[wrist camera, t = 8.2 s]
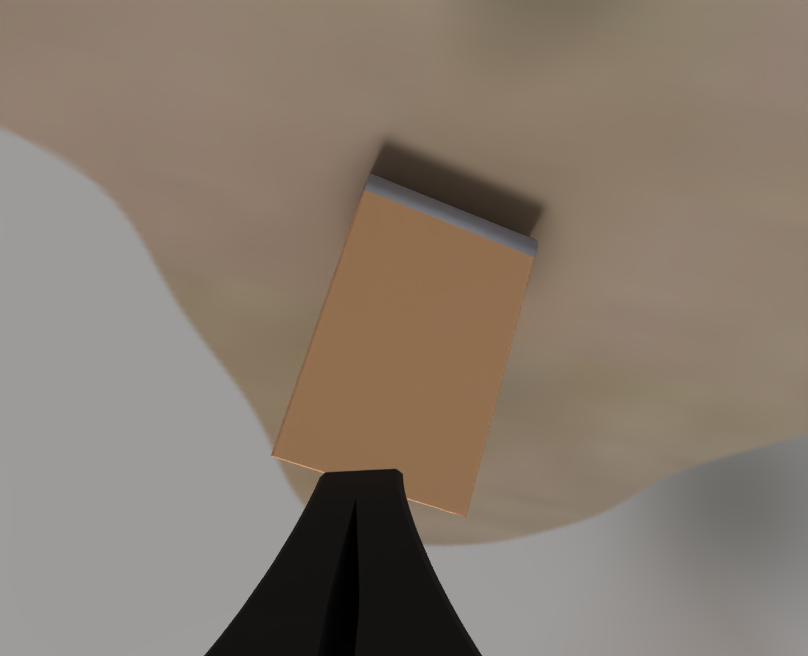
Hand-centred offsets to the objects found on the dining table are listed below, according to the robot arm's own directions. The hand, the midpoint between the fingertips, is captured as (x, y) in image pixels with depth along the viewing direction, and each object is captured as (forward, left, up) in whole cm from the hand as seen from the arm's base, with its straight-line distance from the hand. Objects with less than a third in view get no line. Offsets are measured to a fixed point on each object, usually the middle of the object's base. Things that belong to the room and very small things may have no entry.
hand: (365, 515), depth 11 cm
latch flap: (-1, 0, -7) cm, 7 cm away
